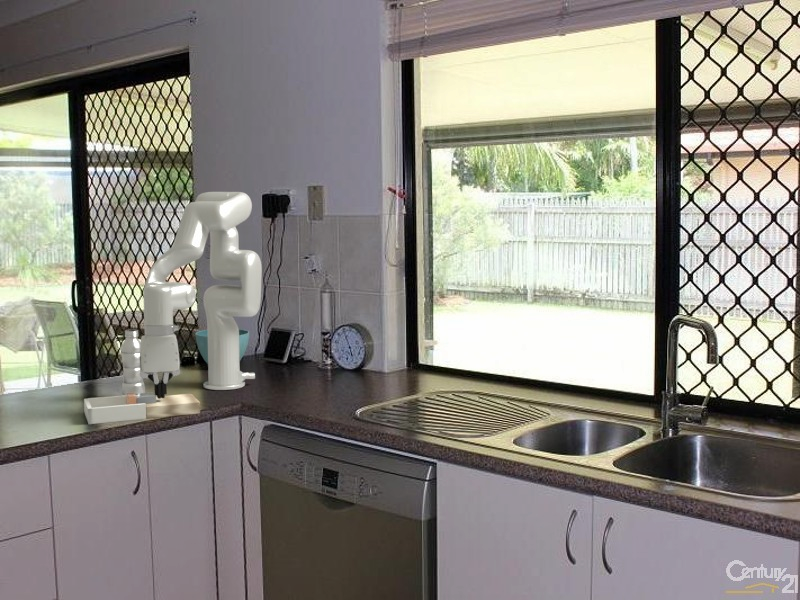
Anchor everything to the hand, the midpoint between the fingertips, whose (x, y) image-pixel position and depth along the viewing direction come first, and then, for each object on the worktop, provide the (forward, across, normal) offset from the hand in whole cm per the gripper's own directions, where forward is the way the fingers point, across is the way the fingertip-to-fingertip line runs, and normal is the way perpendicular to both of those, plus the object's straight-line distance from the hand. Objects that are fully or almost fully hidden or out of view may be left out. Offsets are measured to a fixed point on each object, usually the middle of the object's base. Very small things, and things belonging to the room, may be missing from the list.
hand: (160, 397), depth 239 cm
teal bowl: (+4, -31, -58) cm, 66 cm away
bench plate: (+4, -2, 0) cm, 5 cm away
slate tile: (+1, +4, 0) cm, 4 cm away
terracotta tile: (+1, +7, 0) cm, 7 cm away
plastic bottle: (+4, +4, -20) cm, 21 cm away
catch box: (+4, +12, 0) cm, 13 cm away
